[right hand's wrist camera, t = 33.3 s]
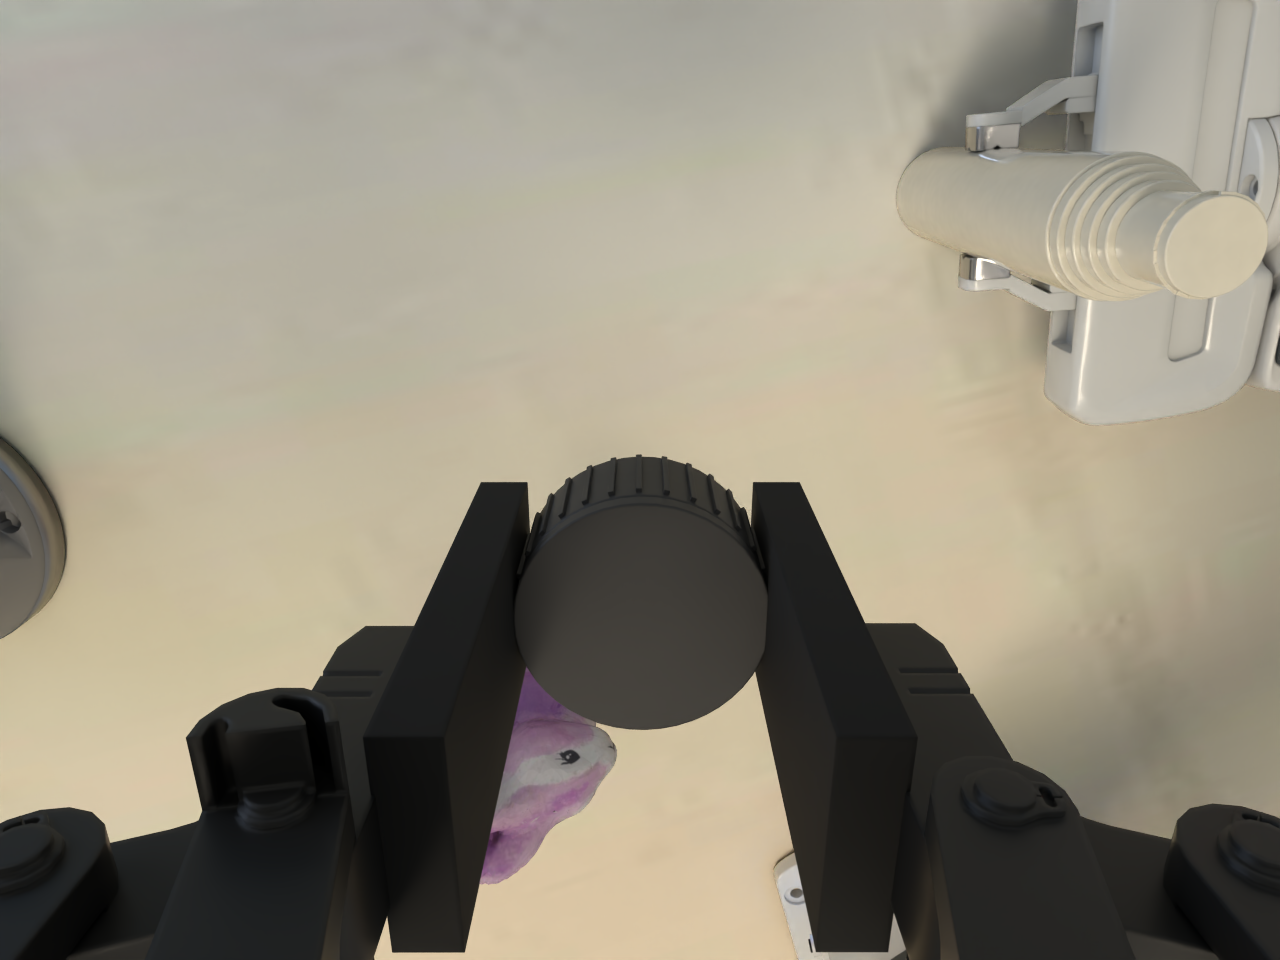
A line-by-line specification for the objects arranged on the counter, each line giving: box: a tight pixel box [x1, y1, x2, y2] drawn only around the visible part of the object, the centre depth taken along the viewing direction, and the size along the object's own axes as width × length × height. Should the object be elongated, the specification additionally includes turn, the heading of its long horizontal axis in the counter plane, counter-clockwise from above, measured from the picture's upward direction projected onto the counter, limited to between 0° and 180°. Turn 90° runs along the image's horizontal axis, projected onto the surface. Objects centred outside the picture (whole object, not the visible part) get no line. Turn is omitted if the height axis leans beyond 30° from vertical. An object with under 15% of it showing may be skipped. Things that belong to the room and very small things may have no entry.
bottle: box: [896, 147, 1268, 301], centre depth 33 cm, size 4×4×24 cm
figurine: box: [480, 667, 617, 885], centre depth 48 cm, size 9×10×15 cm
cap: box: [514, 455, 768, 730], centre depth 14 cm, size 4×4×2 cm
